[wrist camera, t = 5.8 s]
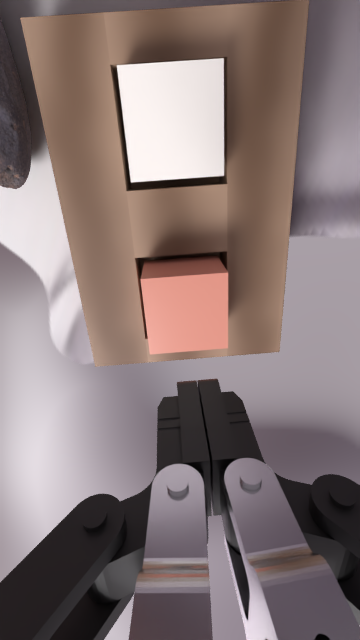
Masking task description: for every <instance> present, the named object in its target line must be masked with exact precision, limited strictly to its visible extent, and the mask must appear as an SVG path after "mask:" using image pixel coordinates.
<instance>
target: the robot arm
mask: <svg viewBox="0 0 360 640" xmlns="http://www.w3.org/2000/svg"><path fill="white" fill-rule="evenodd" d="M177 388H178V396H174V397H164V398H163V399H162V401H161V403H160V405H159V406H158V425H157V428H158V431H157V471H156V475H155V477H154V479H153V481H152V482H151V484H150V485H149V486H148V487H147V488H146V489H145V490H143V491H142V492H140V493H139V494H137V495H135V496H133V497H130V498H127V499H125V500H123V501H119V500H118V499H117V498H115V497H114V496H112V495H109V494H97V495H93V496H90V497H88V498H87V499H85V500H83V501H82V502H80V503H79V504H78V505H77V506H76V507H75V508H74V509H73V510H72V511H71V512H70V513H69V514H68V515H67V516H66V517H65V518H64V519H63V520H62V521H61V522H60V523H59V524H58V525H57V526H56V527H55V528H54V529H53V530H52V531H51V532H50V533H49V534H48V535H47V536H46V537H45V538H44V539H43V540H42V541H41V542H40V543H39V544H38V545H37V546H36V547H35V548H34V549H33V550H32V551H31V552H30V553H29V554H28V555H27V556H26V557H25V558H24V559H23V560H22V561H21V562H20V563H19V564H18V565H17V566H16V568H14V569H13V570H12V571H11V572H10V573H9V575H7V576H6V577H5V578H4V579H3V580H2V581H1V582H0V640H104V639H105V637H106V636H107V634H108V633H109V631H110V630H111V628H112V627H113V625H114V623H115V622H116V621H117V619H118V618H119V616H120V615H121V613H122V612H123V610H124V609H125V607H126V606H127V604H128V603H129V601H130V600H131V598H132V596H133V594H134V601H133V609H132V617H131V626H130V634H129V640H213V636H212V619H211V601H210V582H209V569H208V550H207V544H208V516H211V502H212V508H213V515H222V520H223V526H224V543H225V548H226V552H227V556H228V560H229V564H230V568H231V573H232V577H233V581H234V585H235V589H236V593H237V598H238V601H239V606H240V610H241V614H242V618H243V622H244V628H245V633H246V640H360V626H359V625H360V485H358V484H356V483H355V482H353V481H352V480H350V479H348V478H346V477H343V476H339V475H333V474H332V475H331V474H328V475H323V476H320V477H318V478H317V479H316V480H315V481H314V482H313V484H312V485H310V484H305V483H300V482H295V481H291V480H288V479H285V478H283V477H281V476H279V475H277V474H276V473H274V472H273V471H272V469H271V468H270V467H269V466H268V465H266V463H265V462H264V460H263V457H262V455H261V452H260V449H259V446H258V444H257V441H256V438H255V435H254V432H253V430H252V427H251V424H250V422H249V418H248V416H247V414H246V410H245V407H244V404H243V401H242V400H241V399H240V398H239V397H238V396H237V395H236V394H235V393H234V392H221V390H220V386H219V382H218V379H208V380H198V387H197V382H196V381H184V382H177ZM134 592H135V593H134Z"/></svg>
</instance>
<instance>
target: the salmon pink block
mask: <svg viewBox="0 0 360 640" xmlns="http://www.w3.org/2000/svg"><path fill="white" fill-rule="evenodd" d="M141 287H142V295H143V304H144V312H145V320H146V328H147V336H148V344H149V352H150V354H162V353H175V352H187V351H200V350H212V349H225V348H228V271H227V270H226V268H225V267H224V265H223V264H222V262H221V261H220V259H219V257H218V256H206V257H193V258H179V259H166V260H153V261H144V265H143V270H142V275H141Z"/></svg>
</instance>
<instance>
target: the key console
mask: <svg viewBox="0 0 360 640" xmlns="http://www.w3.org/2000/svg"><path fill="white" fill-rule="evenodd" d="M308 8H309V0H291V1H275V2H259V3H244V4H228V5H212V6H196V7H181V8H165V9H149V10H133V11H118V12H102V13H86V14H71V15H55V16H39V17H23V18H20V19H21V24H22V29H23V33H24V38H25V42H26V47H27V52H28V56H29V61H30V66H31V70H32V75H33V80H34V84H35V89H36V93H37V98H38V103H39V107H40V112H41V117H42V121H43V126H44V131H45V135H46V140H47V144H48V149H49V154H50V158H51V163H52V168H53V172H54V177H55V182H56V186H57V191H58V195H59V200H60V205H61V209H62V214H63V219H64V223H65V228H66V233H67V237H68V242H69V246H70V251H71V256H72V260H73V265H74V270H75V274H76V279H77V284H78V288H79V293H80V297H81V302H82V307H83V311H84V316H85V321H86V325H87V330H88V335H89V339H90V344H91V348H92V353H93V358H94V362H95V366H96V367H97V366H109V365H122V364H134V363H145V362H159V361H171V360H184V359H196V358H208V357H221V356H234V355H246V354H259V353H271V352H279V351H280V339H281V326H282V316H283V304H284V292H285V280H286V268H287V257H288V245H289V233H290V221H291V209H292V197H293V186H294V174H295V162H296V150H297V138H298V126H299V115H300V103H301V91H302V79H303V67H304V55H305V44H306V32H307V20H308ZM219 58H224V176H214V177H200V178H186V179H172V180H158V181H144V182H131V179H130V170H129V162H128V154H127V146H126V137H125V129H124V121H123V112H122V104H121V96H120V88H119V79H118V71H117V65H129V64H144V63H159V62H174V61H189V60H204V59H219ZM206 256H218V257H219V259H220V261H221V262H222V264H223V265H224V267H225V268H226V270H227V271H228V348H225V349H212V350H200V351H187V352H175V353H162V354H150V352H149V344H148V336H147V328H146V320H145V312H144V304H143V295H142V287H141V275H142V270H143V265H144V261H153V260H166V259H179V258H193V257H206Z"/></svg>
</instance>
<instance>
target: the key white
mask: <svg viewBox="0 0 360 640" xmlns="http://www.w3.org/2000/svg"><path fill="white" fill-rule="evenodd" d="M117 71H118V79H119V88H120V96H121V104H122V112H123V121H124V129H125V137H126V146H127V154H128V162H129V170H130V179H131V182H144V181H158V180H172V179H186V178H200V177H214V176H224V58H219V59H204V60H189V61H174V62H159V63H144V64H129V65H117Z"/></svg>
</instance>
